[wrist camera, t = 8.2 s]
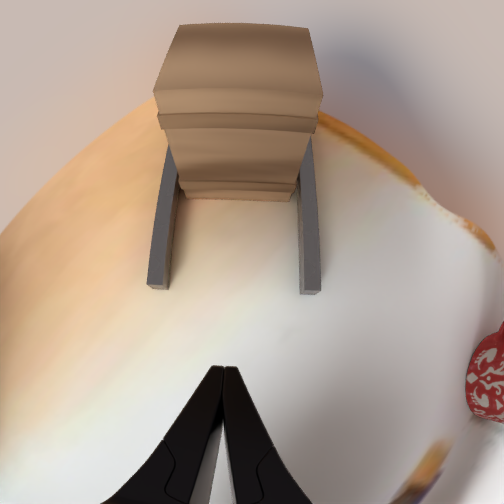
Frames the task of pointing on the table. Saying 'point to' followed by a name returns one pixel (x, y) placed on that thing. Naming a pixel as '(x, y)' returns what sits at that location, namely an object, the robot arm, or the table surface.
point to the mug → (487, 378)
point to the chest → (239, 108)
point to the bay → (306, 226)
